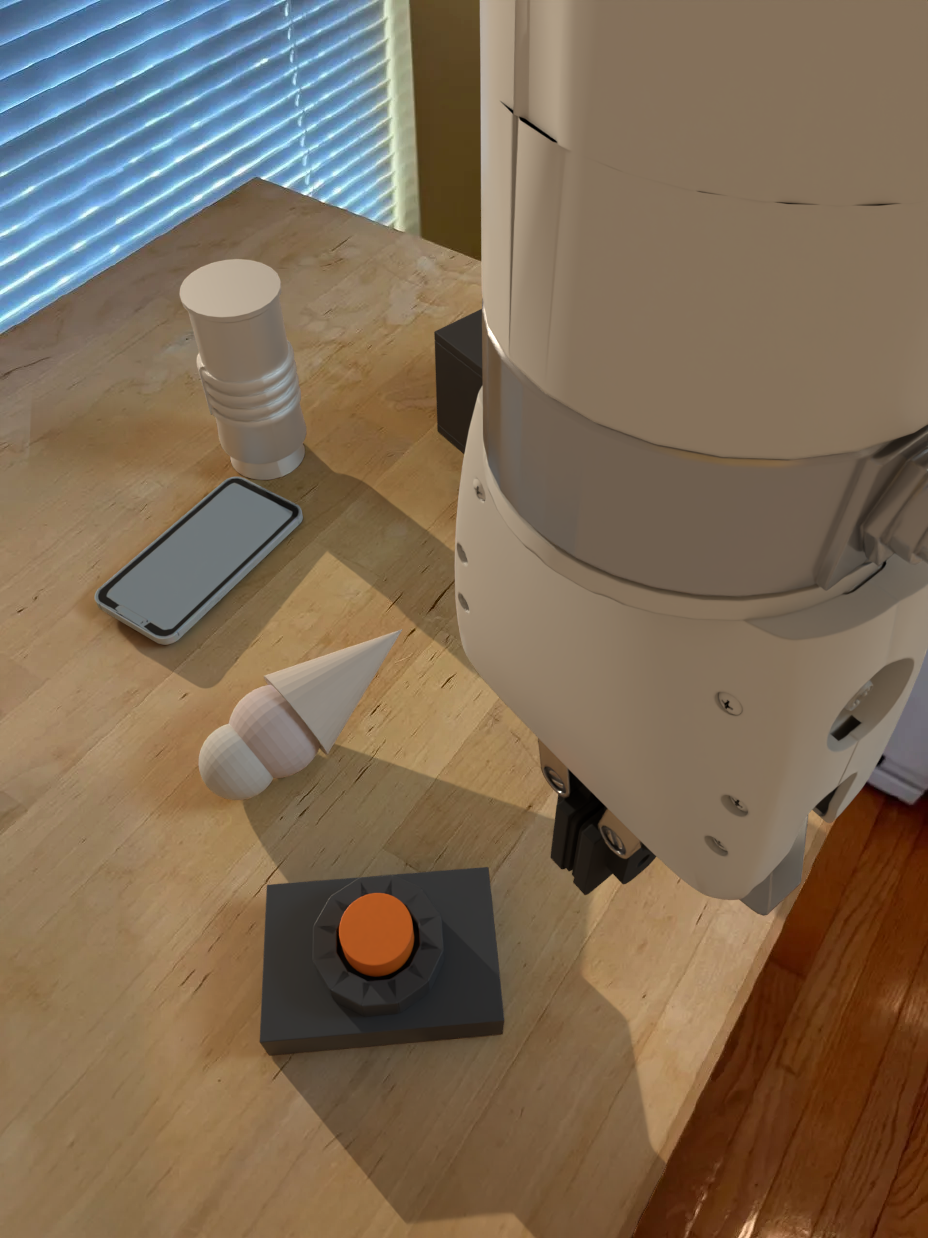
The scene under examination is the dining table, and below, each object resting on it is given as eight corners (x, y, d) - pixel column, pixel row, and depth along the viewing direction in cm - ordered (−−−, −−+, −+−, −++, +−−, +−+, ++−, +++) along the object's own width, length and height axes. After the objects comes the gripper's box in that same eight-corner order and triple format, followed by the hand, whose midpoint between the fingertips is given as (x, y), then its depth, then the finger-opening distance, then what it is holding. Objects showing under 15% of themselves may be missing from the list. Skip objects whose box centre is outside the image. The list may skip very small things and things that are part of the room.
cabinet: (675, 460, 74) (699, 360, 67) (557, 534, 70) (568, 435, 62) (551, 370, 81) (560, 270, 74) (437, 431, 77) (433, 331, 69)
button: (412, 902, 48) (410, 889, 47) (415, 973, 46) (414, 962, 45) (342, 908, 48) (338, 895, 47) (342, 980, 46) (338, 968, 45)
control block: (487, 885, 53) (489, 852, 50) (502, 1034, 48) (505, 1010, 45) (274, 903, 53) (260, 871, 49) (268, 1056, 48) (252, 1033, 44)
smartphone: (308, 509, 70) (166, 644, 62) (309, 518, 71) (169, 652, 63) (232, 472, 73) (87, 597, 65) (234, 481, 73) (91, 606, 65)
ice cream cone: (418, 665, 62) (235, 816, 58) (362, 592, 61) (172, 740, 57) (446, 668, 56) (244, 836, 53) (385, 587, 55) (174, 752, 51)
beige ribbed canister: (219, 433, 77) (173, 266, 65) (304, 419, 78) (274, 252, 66) (227, 491, 72) (180, 324, 61) (317, 475, 73) (288, 308, 62)
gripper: (1277, 540, 13) (869, 958, 28) (568, 156, 21) (536, 645, 35) (973, 852, 11) (695, 1136, 25) (279, 282, 18) (374, 757, 33)
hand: (603, 849), depth 30 cm, fingers closed
